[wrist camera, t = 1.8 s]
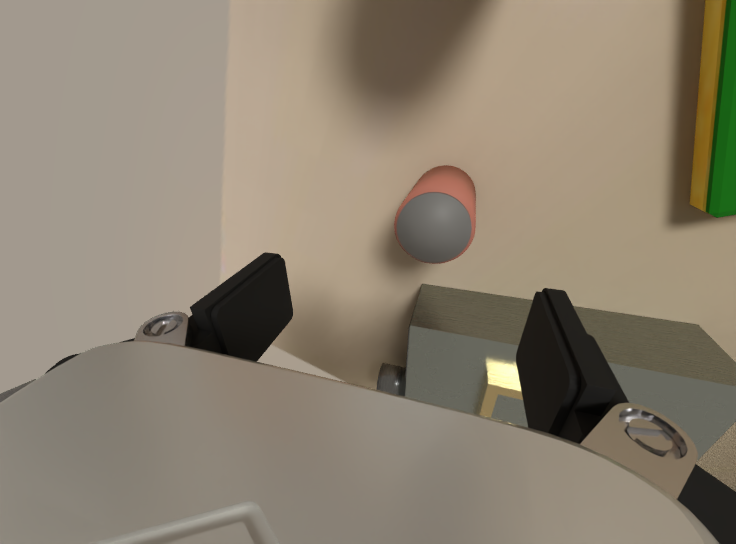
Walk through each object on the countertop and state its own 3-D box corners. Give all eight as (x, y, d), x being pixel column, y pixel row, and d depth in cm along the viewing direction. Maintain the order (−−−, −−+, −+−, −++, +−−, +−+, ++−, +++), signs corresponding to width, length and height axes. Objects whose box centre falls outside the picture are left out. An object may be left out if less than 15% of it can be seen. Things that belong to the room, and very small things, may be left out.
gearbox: (698, 324, 22) (782, 410, 16) (619, 438, 29) (657, 527, 23) (390, 279, 28) (366, 328, 22) (387, 381, 35) (369, 439, 29)
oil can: (480, 166, 21) (482, 192, 15) (470, 228, 23) (468, 270, 17) (415, 164, 22) (394, 186, 16) (412, 222, 24) (392, 260, 19)
